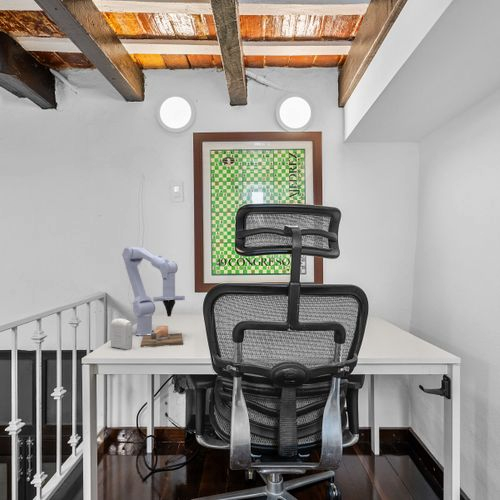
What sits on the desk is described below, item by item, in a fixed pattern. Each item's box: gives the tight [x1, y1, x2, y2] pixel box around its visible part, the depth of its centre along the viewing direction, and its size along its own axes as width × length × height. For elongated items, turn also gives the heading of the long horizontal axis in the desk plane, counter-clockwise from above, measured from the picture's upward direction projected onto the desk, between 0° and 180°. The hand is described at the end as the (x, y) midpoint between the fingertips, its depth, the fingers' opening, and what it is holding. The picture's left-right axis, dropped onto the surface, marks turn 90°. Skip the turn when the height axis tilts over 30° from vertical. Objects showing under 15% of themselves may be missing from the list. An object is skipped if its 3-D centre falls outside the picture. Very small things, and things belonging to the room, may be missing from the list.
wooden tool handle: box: [151, 325, 169, 339], centre depth 172 cm, size 14×5×4 cm, turn 172°
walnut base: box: [140, 332, 184, 348], centre depth 176 cm, size 18×18×2 cm
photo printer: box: [110, 318, 133, 350], centre depth 165 cm, size 10×4×12 cm, turn 60°
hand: (169, 316), depth 182 cm, fingers closed
